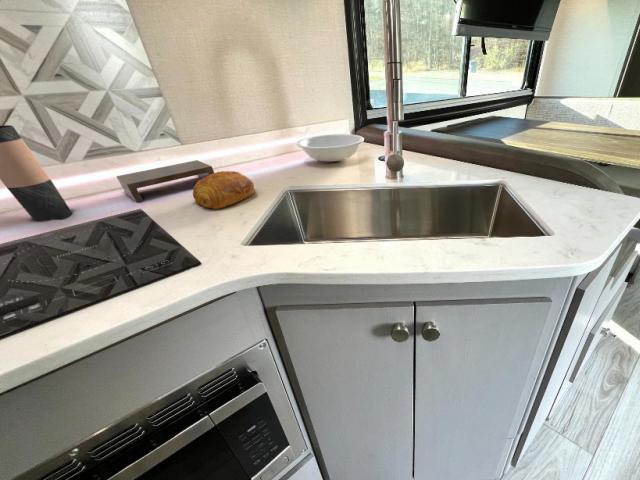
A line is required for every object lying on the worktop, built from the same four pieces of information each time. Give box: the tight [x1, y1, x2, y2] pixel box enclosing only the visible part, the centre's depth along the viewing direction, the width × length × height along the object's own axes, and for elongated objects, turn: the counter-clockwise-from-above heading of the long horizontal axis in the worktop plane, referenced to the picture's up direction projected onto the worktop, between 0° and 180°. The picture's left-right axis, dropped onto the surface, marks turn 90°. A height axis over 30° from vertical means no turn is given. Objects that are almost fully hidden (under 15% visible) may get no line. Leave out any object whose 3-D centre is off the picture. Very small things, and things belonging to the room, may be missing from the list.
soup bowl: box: [296, 133, 365, 162], centre depth 115 cm, size 24×24×7 cm
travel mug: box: [0, 124, 73, 222], centre depth 73 cm, size 8×8×20 cm
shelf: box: [116, 159, 215, 204], centre depth 94 cm, size 22×12×5 cm, turn 137°
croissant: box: [192, 170, 255, 210], centre depth 84 cm, size 14×16×8 cm
